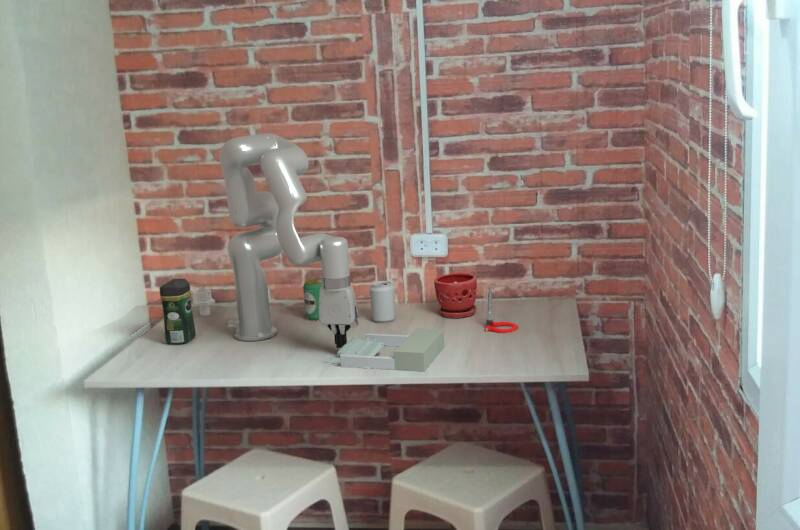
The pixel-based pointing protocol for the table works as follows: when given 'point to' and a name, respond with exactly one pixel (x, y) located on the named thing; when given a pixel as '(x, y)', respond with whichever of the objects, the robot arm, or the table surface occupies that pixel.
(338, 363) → the metal bracket
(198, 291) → the pipe fitting
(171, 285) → the coffee jar
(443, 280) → the plant pot
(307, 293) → the beverage can
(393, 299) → the can
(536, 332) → the table surface
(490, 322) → the tow hook
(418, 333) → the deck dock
